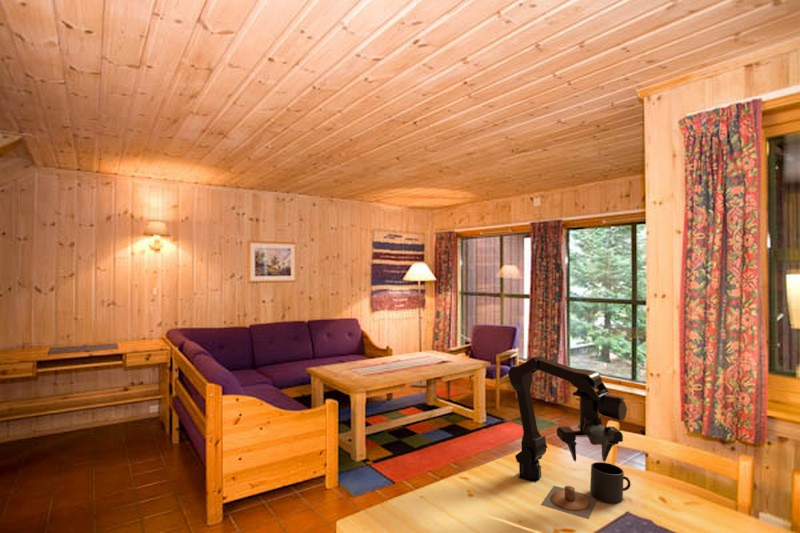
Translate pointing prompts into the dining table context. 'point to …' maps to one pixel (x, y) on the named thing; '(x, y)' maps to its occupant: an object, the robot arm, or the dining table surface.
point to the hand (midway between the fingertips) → (589, 461)
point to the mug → (607, 482)
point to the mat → (582, 513)
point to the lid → (570, 499)
